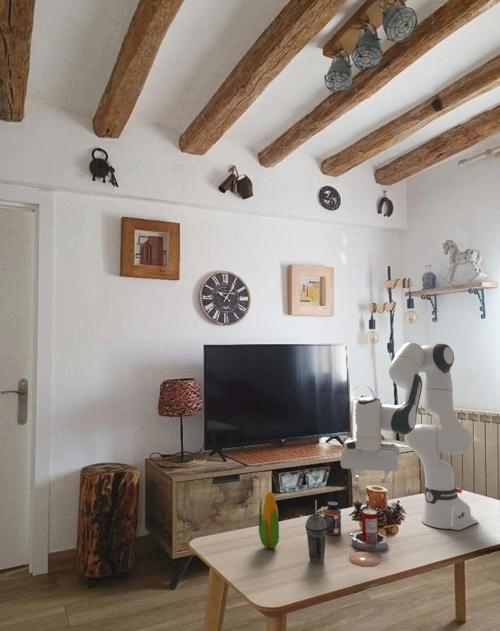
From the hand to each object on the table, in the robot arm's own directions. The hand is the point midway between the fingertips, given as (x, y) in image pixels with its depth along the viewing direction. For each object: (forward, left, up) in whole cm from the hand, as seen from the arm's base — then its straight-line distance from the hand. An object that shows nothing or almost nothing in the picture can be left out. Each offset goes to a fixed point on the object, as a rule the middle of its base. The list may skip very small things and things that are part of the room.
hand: (369, 481), depth 181 cm
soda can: (-2, -2, -23) cm, 23 cm away
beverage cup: (+24, +1, -23) cm, 33 cm away
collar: (-1, -2, -23) cm, 23 cm away
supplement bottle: (+4, -17, -23) cm, 29 cm away
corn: (+32, -16, -23) cm, 43 cm away
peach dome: (+9, +7, -23) cm, 26 cm away
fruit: (+3, -25, -24) cm, 35 cm away
